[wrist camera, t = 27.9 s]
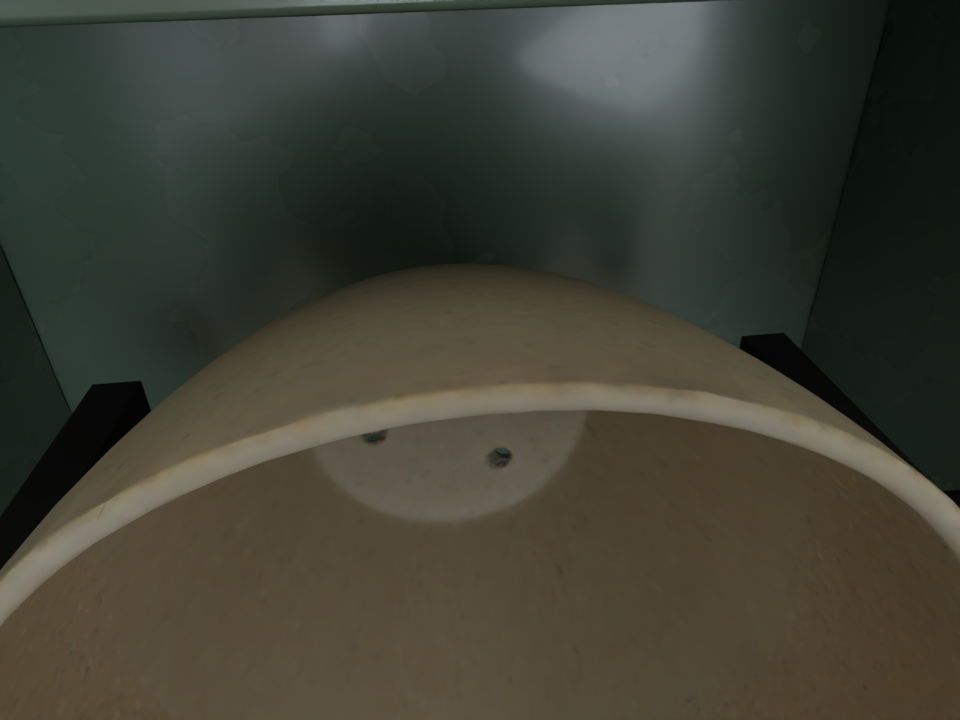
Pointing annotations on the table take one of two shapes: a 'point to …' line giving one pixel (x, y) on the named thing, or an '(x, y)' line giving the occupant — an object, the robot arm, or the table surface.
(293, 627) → the beige plant pot
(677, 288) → the green storage box
